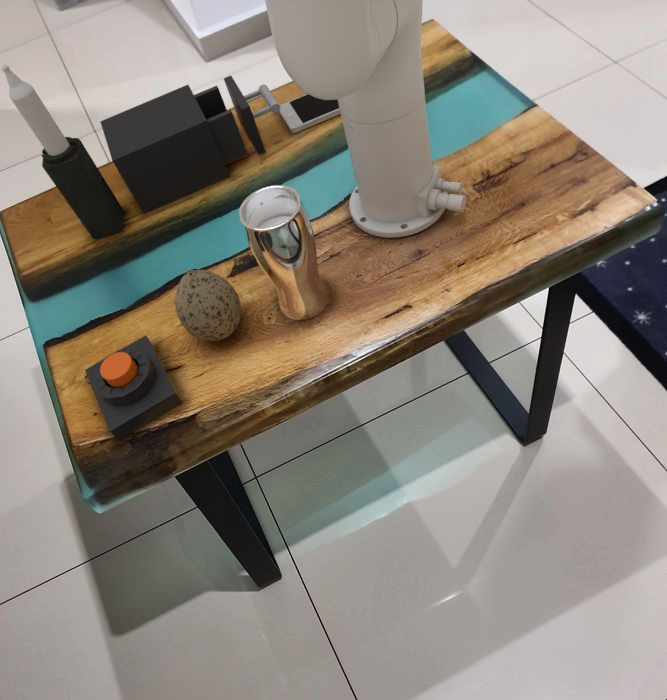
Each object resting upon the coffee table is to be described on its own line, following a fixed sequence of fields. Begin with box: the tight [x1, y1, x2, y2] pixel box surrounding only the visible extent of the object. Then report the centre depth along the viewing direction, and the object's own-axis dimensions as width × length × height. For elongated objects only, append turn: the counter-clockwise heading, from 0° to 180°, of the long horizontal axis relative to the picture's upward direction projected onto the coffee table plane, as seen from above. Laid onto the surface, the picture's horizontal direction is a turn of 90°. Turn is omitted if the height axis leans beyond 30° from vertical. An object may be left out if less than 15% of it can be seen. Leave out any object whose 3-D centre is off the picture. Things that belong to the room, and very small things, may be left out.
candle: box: [1, 63, 126, 240], centre depth 84 cm, size 5×5×25 cm
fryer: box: [100, 84, 231, 215], centre depth 93 cm, size 14×11×10 cm
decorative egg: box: [174, 269, 242, 342], centre depth 73 cm, size 7×7×10 cm
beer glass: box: [238, 184, 330, 321], centre depth 71 cm, size 7×7×15 cm
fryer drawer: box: [193, 75, 281, 166], centre depth 94 cm, size 17×9×8 cm, turn 112°
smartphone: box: [278, 93, 341, 134], centre depth 99 cm, size 7×15×1 cm, turn 111°
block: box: [84, 335, 184, 441], centre depth 73 cm, size 10×8×4 cm
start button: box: [100, 352, 138, 388], centre depth 71 cm, size 4×4×2 cm
